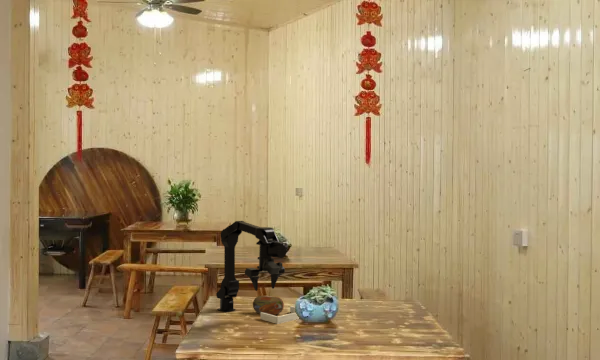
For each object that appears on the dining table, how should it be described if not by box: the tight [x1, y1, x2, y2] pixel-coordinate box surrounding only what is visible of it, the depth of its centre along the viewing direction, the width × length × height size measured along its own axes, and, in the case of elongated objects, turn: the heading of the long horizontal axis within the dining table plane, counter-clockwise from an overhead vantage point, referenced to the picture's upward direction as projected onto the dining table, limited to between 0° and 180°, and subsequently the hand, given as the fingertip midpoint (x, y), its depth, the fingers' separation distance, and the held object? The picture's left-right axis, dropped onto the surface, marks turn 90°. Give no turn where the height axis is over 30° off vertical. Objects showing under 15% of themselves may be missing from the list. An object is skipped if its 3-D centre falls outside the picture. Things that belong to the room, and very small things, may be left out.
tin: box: [252, 295, 285, 316], centre depth 277 cm, size 15×3×8 cm, turn 73°
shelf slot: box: [259, 305, 300, 325], centre depth 269 cm, size 12×20×3 cm, turn 136°
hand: (264, 289), depth 264 cm, fingers open, 9 cm apart
